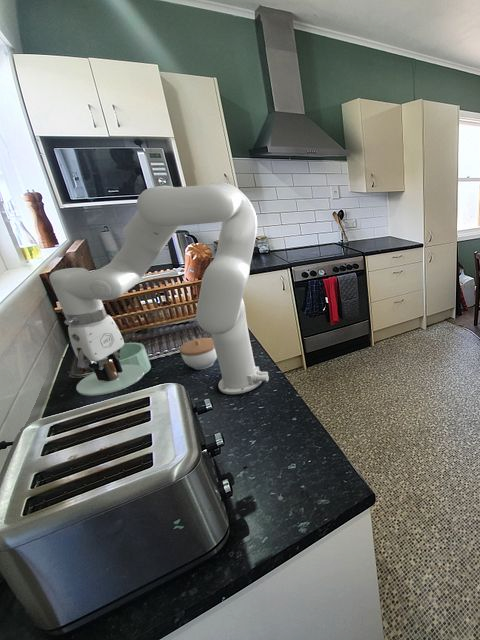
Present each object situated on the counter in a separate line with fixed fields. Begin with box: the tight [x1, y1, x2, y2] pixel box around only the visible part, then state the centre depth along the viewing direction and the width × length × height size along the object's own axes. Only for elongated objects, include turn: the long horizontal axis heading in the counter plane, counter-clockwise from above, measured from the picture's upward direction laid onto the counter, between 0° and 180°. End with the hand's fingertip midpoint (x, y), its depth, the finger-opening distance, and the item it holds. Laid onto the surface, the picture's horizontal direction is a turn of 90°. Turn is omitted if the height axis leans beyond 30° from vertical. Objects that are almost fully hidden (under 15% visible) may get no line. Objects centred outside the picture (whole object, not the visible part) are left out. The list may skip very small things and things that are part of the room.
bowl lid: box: [75, 358, 145, 397], centre depth 96 cm, size 15×15×7 cm
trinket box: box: [178, 337, 218, 371], centre depth 117 cm, size 11×11×9 cm
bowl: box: [92, 342, 152, 375], centre depth 112 cm, size 14×14×8 cm
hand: (110, 375), depth 97 cm, fingers closed on bowl lid, 3 cm apart
